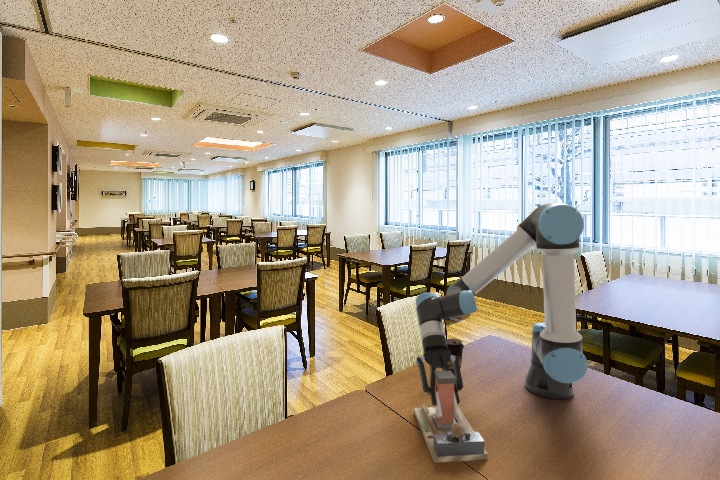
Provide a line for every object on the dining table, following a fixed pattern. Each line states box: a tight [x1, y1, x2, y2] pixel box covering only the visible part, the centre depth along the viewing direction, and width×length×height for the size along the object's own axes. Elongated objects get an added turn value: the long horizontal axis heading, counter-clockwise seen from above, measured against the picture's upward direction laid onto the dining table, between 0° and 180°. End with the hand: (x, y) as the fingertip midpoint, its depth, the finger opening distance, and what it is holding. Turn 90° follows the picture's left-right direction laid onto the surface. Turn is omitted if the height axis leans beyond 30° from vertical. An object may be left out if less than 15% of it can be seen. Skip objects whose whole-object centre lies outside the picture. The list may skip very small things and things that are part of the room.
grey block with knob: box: [433, 431, 485, 457], centre depth 98 cm, size 12×4×5 cm, turn 94°
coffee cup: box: [446, 338, 465, 376], centre depth 144 cm, size 9×8×13 cm
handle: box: [428, 370, 457, 430], centre depth 109 cm, size 8×7×15 cm
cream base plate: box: [413, 403, 489, 463], centre depth 107 cm, size 14×23×3 cm, turn 4°
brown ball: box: [451, 423, 466, 438], centre depth 97 cm, size 4×4×4 cm
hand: (448, 416), depth 106 cm, fingers closed on handle, 4 cm apart
